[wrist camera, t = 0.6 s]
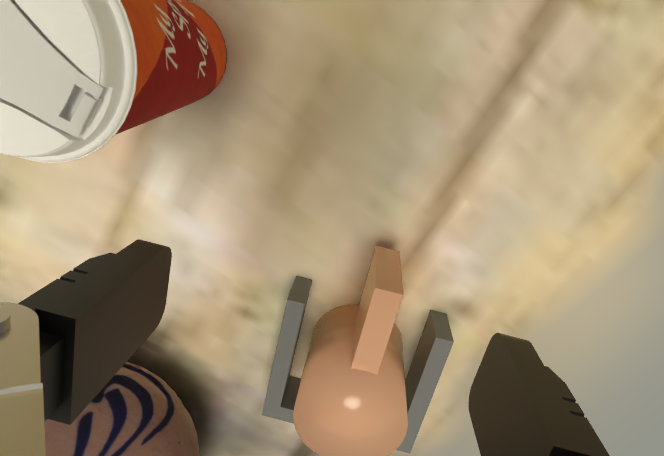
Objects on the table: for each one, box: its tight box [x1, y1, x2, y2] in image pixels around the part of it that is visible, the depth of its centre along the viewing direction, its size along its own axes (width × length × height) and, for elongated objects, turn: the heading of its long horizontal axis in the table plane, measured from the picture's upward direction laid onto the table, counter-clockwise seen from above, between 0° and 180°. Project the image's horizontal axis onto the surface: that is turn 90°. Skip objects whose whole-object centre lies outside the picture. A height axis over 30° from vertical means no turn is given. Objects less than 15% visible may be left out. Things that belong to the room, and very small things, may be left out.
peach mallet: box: [293, 246, 408, 456], centre depth 31 cm, size 12×7×8 cm, turn 167°
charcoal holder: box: [262, 276, 454, 453], centre depth 34 cm, size 10×11×4 cm
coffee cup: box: [0, 0, 226, 163], centre depth 22 cm, size 8×8×15 cm
